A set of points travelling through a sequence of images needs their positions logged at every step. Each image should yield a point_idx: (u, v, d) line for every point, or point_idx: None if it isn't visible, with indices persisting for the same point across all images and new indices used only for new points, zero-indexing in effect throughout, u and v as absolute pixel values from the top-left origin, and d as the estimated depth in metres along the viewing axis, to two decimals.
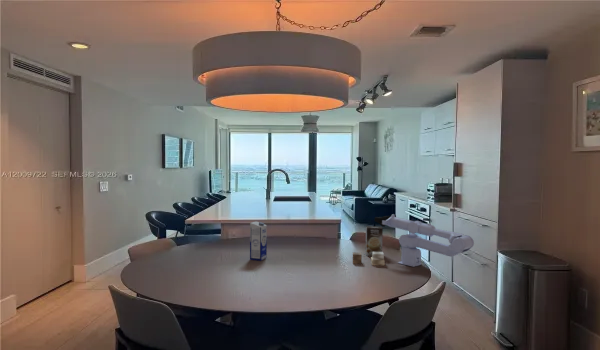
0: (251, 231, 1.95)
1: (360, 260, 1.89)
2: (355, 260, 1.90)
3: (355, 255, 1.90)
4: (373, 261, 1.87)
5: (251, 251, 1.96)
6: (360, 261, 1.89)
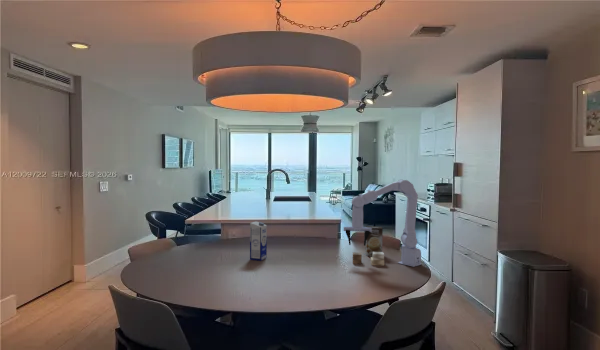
0: (251, 231, 1.95)
1: (360, 260, 1.89)
2: (355, 260, 1.90)
3: (355, 255, 1.90)
4: (373, 261, 1.87)
5: (251, 251, 1.96)
6: (360, 261, 1.89)
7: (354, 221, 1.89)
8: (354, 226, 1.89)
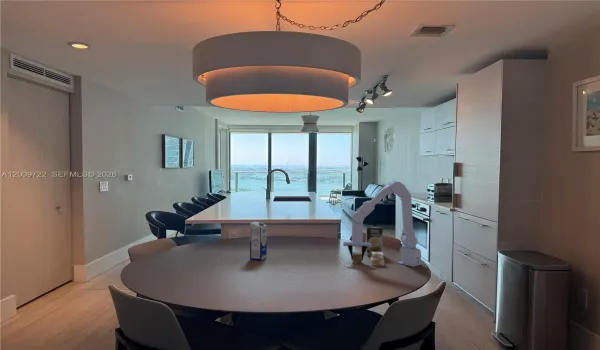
0: (251, 231, 1.95)
1: (360, 260, 1.89)
2: (355, 260, 1.90)
3: (355, 255, 1.90)
4: (373, 261, 1.87)
5: (251, 251, 1.96)
6: (360, 261, 1.89)
7: (354, 236, 1.90)
8: (354, 241, 1.90)
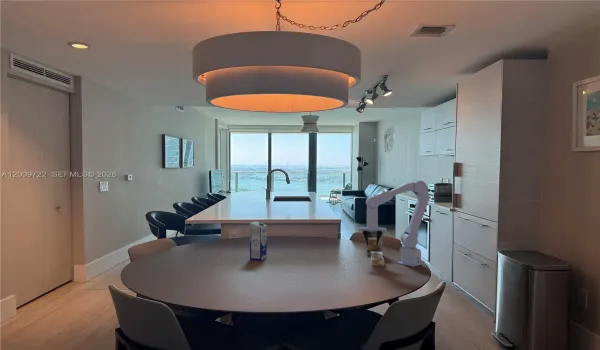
0: (251, 231, 1.95)
1: (375, 245, 1.88)
2: (370, 245, 1.89)
3: (370, 240, 1.89)
4: (373, 261, 1.88)
5: (251, 251, 1.96)
6: (375, 246, 1.88)
7: (369, 221, 1.88)
8: (369, 226, 1.88)
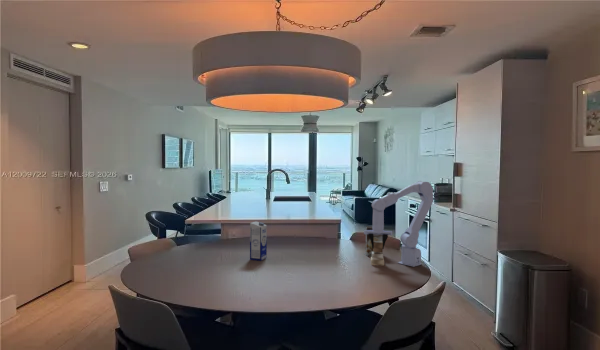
0: (251, 231, 1.95)
1: (381, 248, 1.88)
2: (376, 248, 1.88)
3: (376, 244, 1.88)
4: (373, 261, 1.88)
5: (251, 251, 1.96)
6: (381, 249, 1.88)
7: (375, 224, 1.88)
8: (375, 229, 1.88)
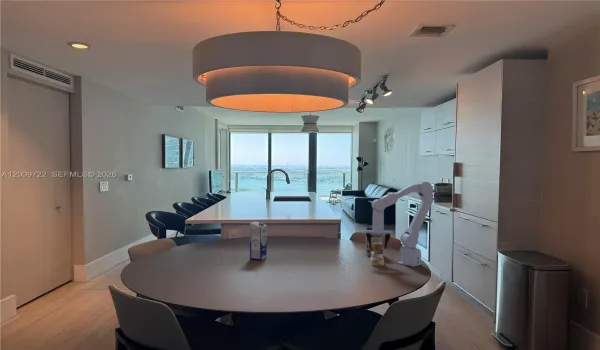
0: (251, 231, 1.95)
1: (381, 250, 1.88)
2: (376, 250, 1.88)
3: (376, 245, 1.88)
4: (373, 261, 1.88)
5: (251, 251, 1.96)
6: (381, 251, 1.88)
7: (375, 224, 1.88)
8: (375, 229, 1.88)
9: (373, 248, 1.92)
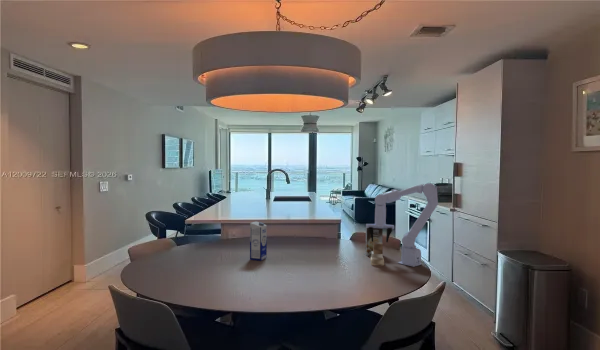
0: (251, 231, 1.95)
1: (381, 250, 1.88)
2: (376, 250, 1.88)
3: (376, 245, 1.88)
4: (373, 261, 1.88)
5: (251, 251, 1.96)
6: (381, 251, 1.88)
7: (377, 218, 1.94)
8: (377, 223, 1.94)
9: (373, 248, 1.92)
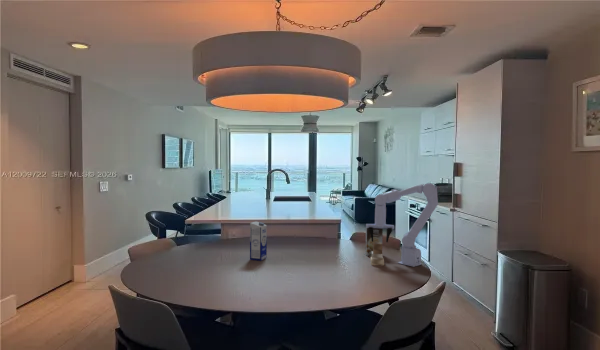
0: (251, 231, 1.95)
1: (381, 250, 1.88)
2: (375, 250, 1.88)
3: (376, 245, 1.88)
4: (373, 261, 1.88)
5: (251, 251, 1.96)
6: (381, 251, 1.88)
7: (377, 218, 1.94)
8: (377, 223, 1.94)
9: None
